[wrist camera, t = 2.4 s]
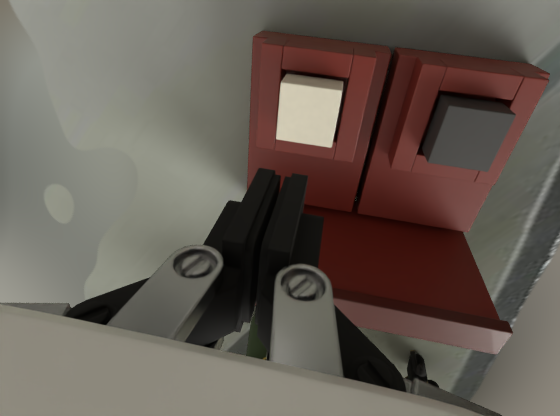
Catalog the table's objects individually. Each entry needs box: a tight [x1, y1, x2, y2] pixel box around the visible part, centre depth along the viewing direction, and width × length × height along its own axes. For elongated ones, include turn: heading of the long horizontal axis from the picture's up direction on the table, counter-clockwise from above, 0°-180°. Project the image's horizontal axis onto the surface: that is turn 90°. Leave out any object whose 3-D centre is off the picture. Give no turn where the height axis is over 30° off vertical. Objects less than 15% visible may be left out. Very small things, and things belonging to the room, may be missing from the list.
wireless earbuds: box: [405, 350, 439, 388], centre depth 35 cm, size 7×2×5 cm, turn 5°
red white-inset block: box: [247, 31, 392, 212], centre depth 23 cm, size 11×8×4 cm
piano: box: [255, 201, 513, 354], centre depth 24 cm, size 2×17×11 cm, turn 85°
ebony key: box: [422, 94, 516, 172], centre depth 18 cm, size 3×3×2 cm
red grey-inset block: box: [357, 47, 550, 232], centre depth 22 cm, size 11×8×4 cm
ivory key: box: [276, 73, 343, 148], centre depth 19 cm, size 3×3×2 cm
